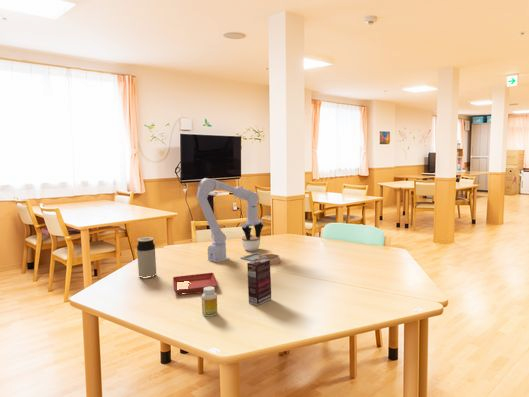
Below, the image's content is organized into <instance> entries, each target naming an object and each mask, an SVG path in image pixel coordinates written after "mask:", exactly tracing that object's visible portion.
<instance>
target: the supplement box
mask: <svg viewBox="0 0 529 397" xmlns="http://www.w3.org/2000/svg"><path fill="white" fill-rule="evenodd" d="M246 264H247V266H246V267H247V286H248V287H247V289H248V291H247V294H248V304H250V305H253V304H254V306H256V305H257V307H258V306H260V305H262V304H264V303H266V302H268V301H270V300H272V281H271V280H272V279H271V265H270V260H268V259H262V258H261V259H258V260H255V261H249V262H246Z"/></svg>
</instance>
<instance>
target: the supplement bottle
mask: <svg viewBox="0 0 529 397" xmlns="http://www.w3.org/2000/svg"><path fill="white" fill-rule="evenodd" d="M215 291H216V289H215V288H214V287H211V286H209V287H205V288H204V289H203V292H202V295H201V312H202V313H201V314H202V315H203V316H204V317H206V316H212V317H215V316H217V314H218V294H217V293H216V292H215ZM214 315H215V316H214Z"/></svg>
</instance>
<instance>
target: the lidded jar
mask: <svg viewBox="0 0 529 397" xmlns="http://www.w3.org/2000/svg"><path fill="white" fill-rule="evenodd" d="M241 241H242V242H241V244H242V247H243V249H244V250H246V251H247V252H248V251H249V252H255V251H257V250H258V249H259V248H260V246H261V236H260V237H259V238H258V237H256V234H255V235H254V234H250V240H247V239H246V236H245V235H244V236H242V237H241Z"/></svg>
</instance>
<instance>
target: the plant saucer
mask: <svg viewBox="0 0 529 397" xmlns="http://www.w3.org/2000/svg"><path fill="white" fill-rule="evenodd" d="M184 281H189V282H190V283H191V284H190V283H188V284H189V286H188V289H179V290H177V282H184ZM172 283H173V286H172V287H173V291H174V292H175V293H176V294H177V295H178V294H182V293H191V294H195V293H194V292H200V293H204V292H203V289H204V288H205V287H209V286H211V287H214V288H215V290H216V289H217V288H218V286H219V283H218V281H217V279H216V276H215V274H214V272H206V273H197V274H188V275H177V276H173V277H172ZM182 295H183V294H182Z"/></svg>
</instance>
